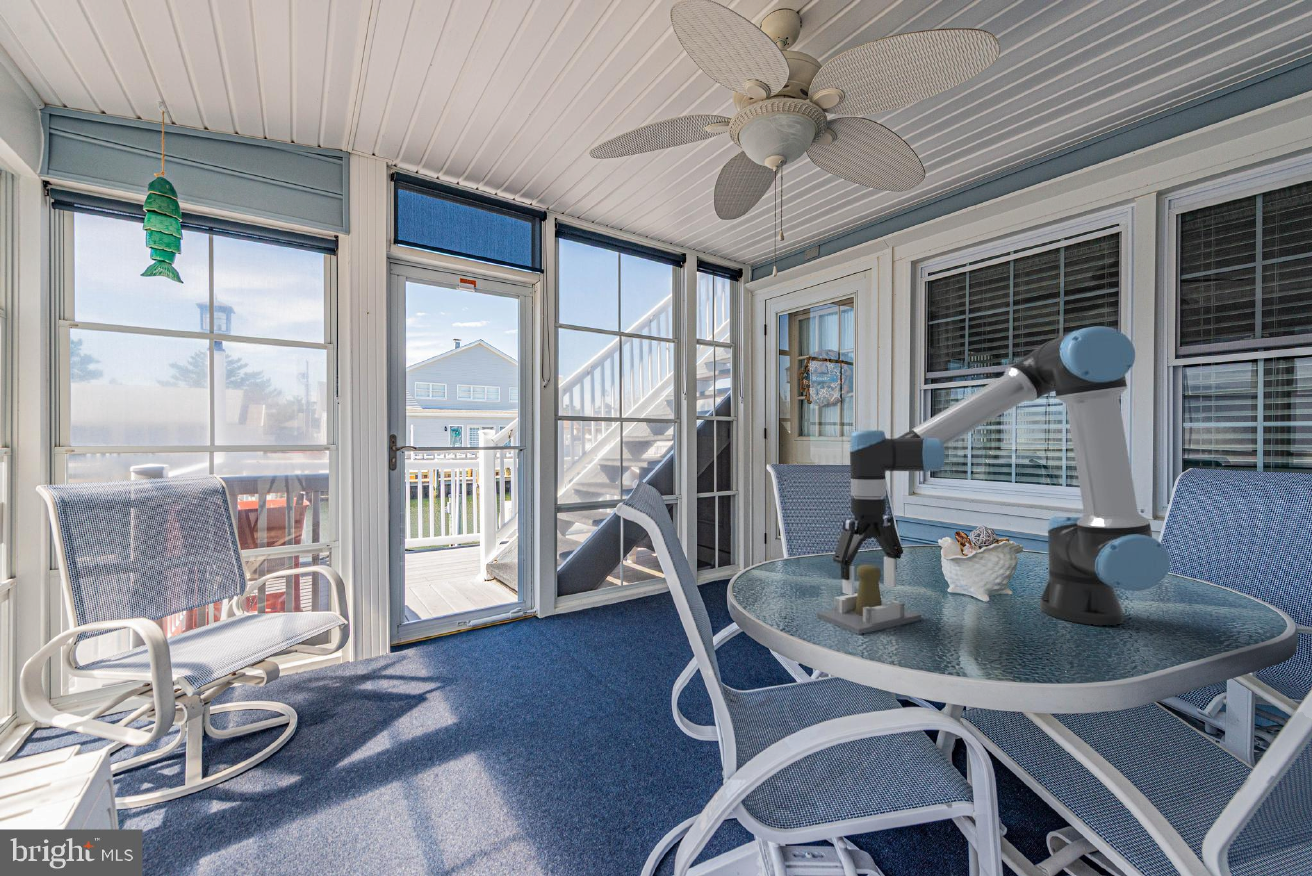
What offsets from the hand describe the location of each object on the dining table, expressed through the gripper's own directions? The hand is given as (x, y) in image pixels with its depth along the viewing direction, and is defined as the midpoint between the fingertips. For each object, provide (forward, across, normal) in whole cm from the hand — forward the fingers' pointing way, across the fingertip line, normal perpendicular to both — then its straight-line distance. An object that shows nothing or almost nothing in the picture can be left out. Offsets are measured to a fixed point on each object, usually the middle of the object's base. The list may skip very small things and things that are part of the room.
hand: (869, 589), depth 119 cm
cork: (+6, 0, 0) cm, 6 cm away
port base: (+7, 0, 0) cm, 7 cm away
